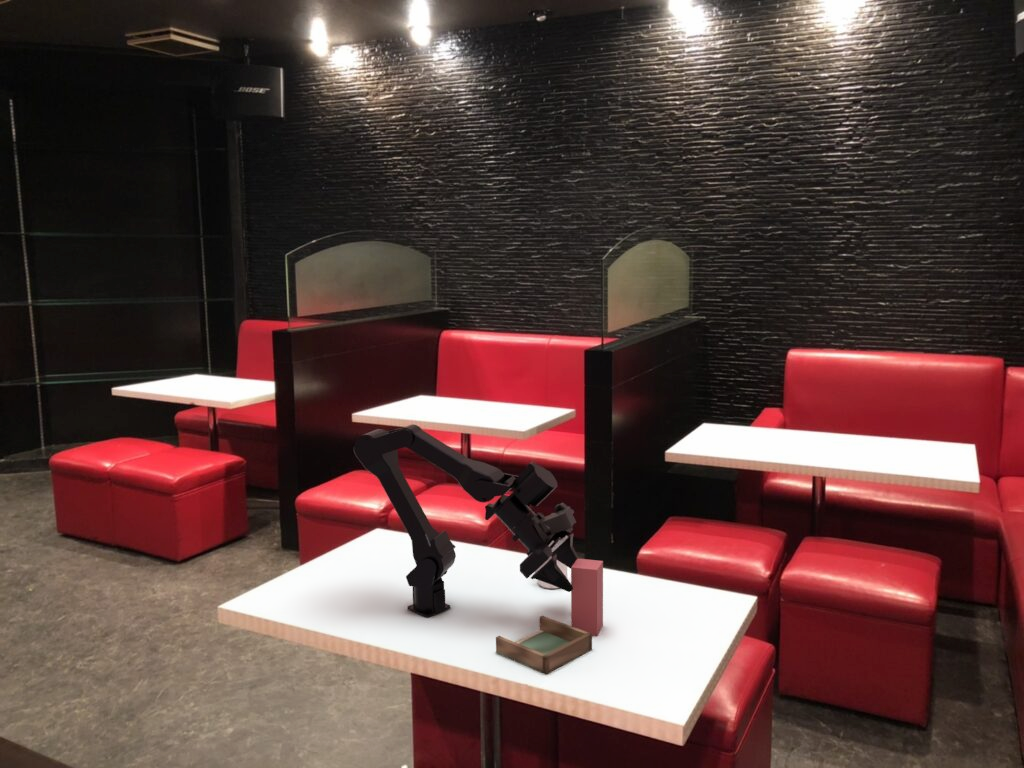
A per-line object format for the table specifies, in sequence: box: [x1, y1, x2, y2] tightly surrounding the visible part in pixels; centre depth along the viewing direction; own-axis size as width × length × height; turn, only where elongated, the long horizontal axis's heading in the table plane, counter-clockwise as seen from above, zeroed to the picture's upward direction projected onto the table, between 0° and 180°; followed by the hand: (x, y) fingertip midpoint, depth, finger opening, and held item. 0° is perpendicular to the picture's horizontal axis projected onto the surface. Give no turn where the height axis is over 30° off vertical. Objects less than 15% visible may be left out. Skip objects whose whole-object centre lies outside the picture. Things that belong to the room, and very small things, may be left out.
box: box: [495, 615, 593, 675], centre depth 152 cm, size 12×13×3 cm
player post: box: [570, 558, 604, 637], centre depth 161 cm, size 5×5×13 cm
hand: (577, 581), depth 161 cm, fingers open, 9 cm apart
